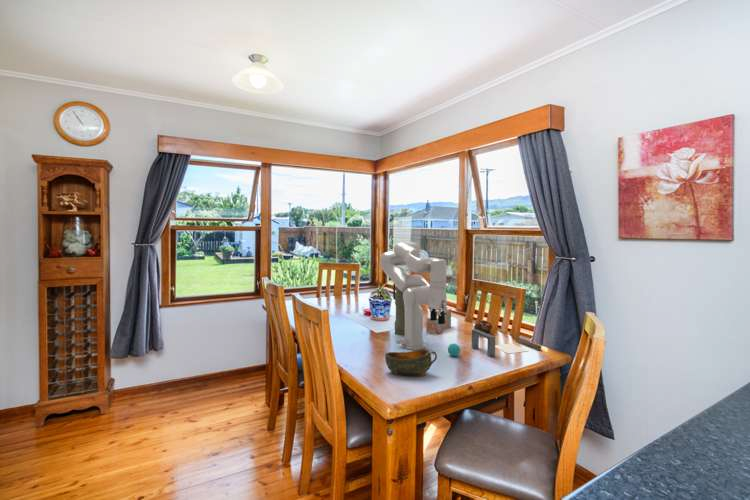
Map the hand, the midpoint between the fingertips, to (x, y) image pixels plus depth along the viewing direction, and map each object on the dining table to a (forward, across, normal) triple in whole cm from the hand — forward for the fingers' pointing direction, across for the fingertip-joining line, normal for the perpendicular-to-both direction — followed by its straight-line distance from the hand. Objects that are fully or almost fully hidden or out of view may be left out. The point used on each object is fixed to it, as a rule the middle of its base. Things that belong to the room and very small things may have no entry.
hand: (437, 321), depth 177 cm
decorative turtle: (+18, -28, +48) cm, 58 cm away
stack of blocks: (+18, -45, +27) cm, 55 cm away
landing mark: (+18, 0, +44) cm, 47 cm away
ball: (+15, 0, +10) cm, 17 cm away
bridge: (+18, 0, +26) cm, 32 cm away
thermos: (+18, -45, +2) cm, 48 cm away
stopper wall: (+18, 0, +56) cm, 58 cm away
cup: (+18, +13, -20) cm, 30 cm away
